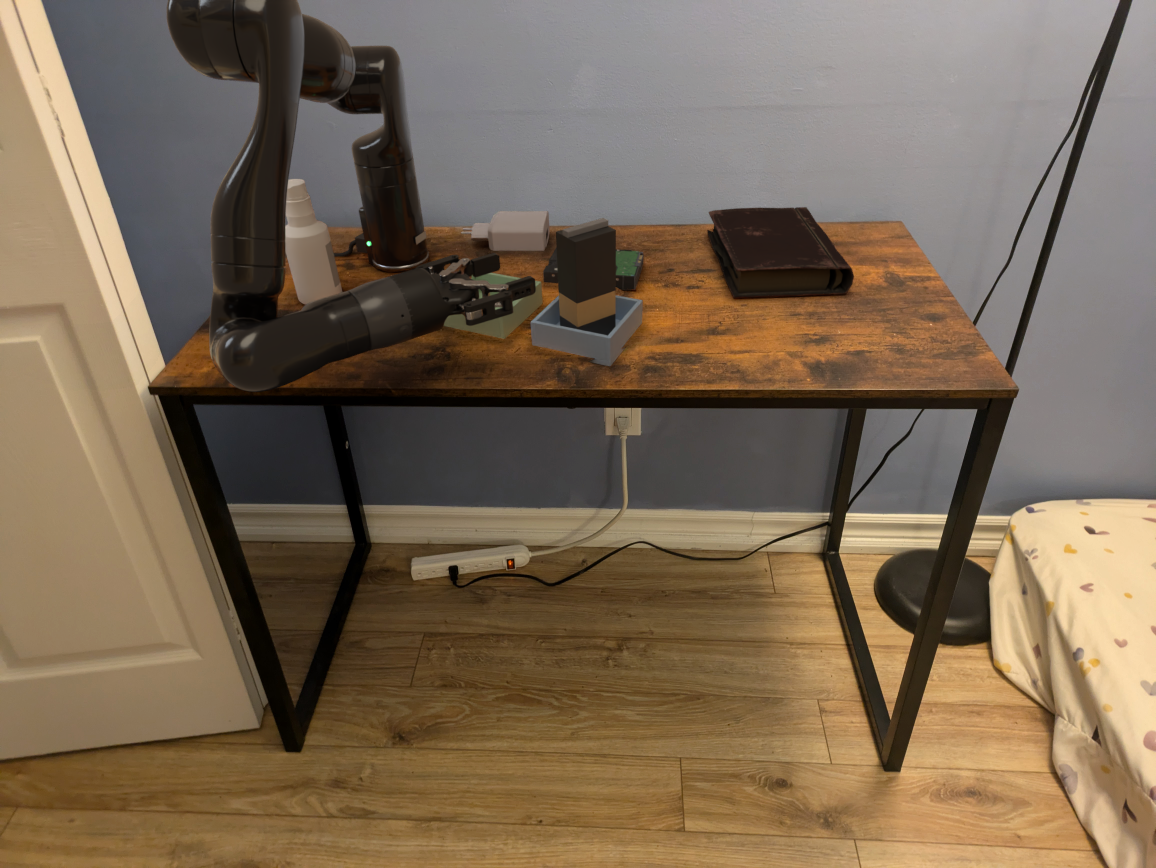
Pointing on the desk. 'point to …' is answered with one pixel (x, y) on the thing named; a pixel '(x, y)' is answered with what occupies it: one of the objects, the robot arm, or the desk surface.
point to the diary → (777, 253)
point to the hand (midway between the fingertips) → (515, 272)
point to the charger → (514, 231)
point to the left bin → (503, 324)
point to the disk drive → (626, 269)
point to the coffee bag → (587, 276)
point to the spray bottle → (308, 247)
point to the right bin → (584, 342)
